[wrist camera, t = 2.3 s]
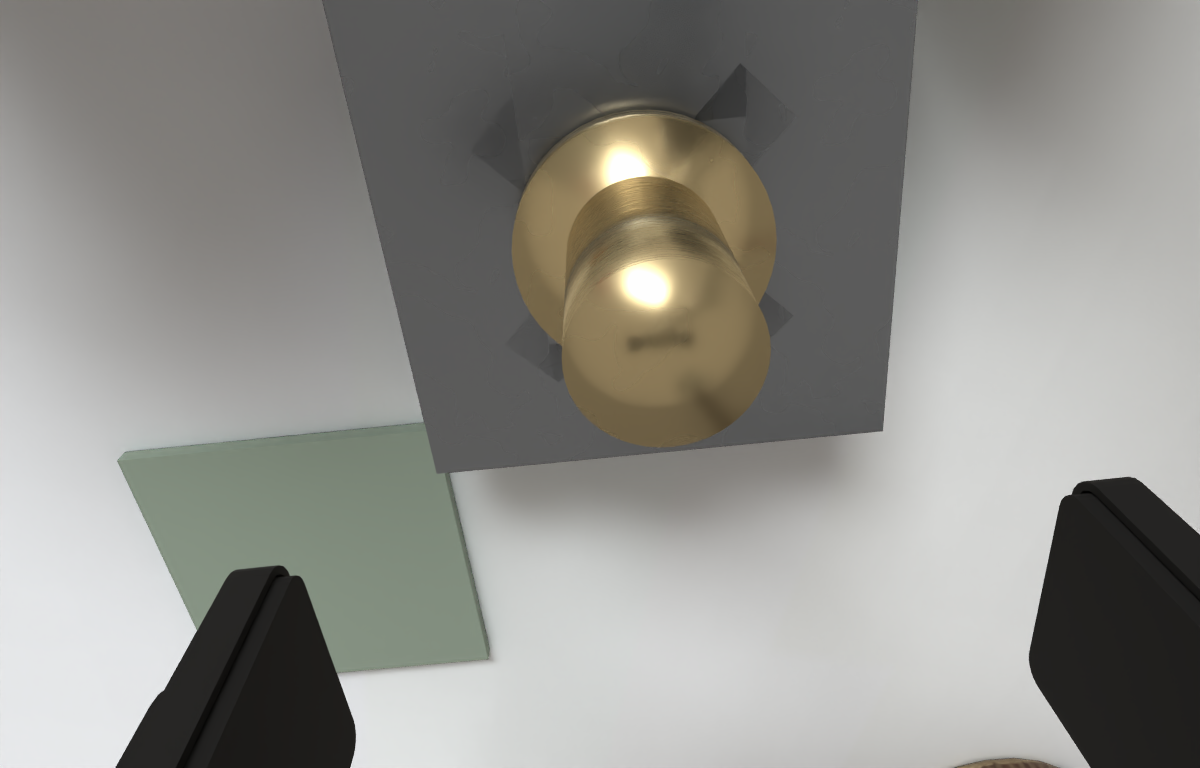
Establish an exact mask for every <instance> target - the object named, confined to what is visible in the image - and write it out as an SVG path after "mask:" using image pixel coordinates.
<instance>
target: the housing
mask: <svg viewBox="0 0 1200 768" xmlns="http://www.w3.org/2000/svg"><path fill="white" fill-rule="evenodd" d="M322 1H323V5H324V10H325V14H326V18H327V22H328V26H329V30H330V34H331V39H332V43H333V47H334V51H335V55H336V59H337V63H338V68H339V72H340V76H341V80H342V84H343V88H344V92H345V96H346V101H347V105H348V109H349V113H350V117H351V121H352V125H353V130H354V134H355V138H356V142H357V146H358V150H359V154H360V159H361V163H362V167H363V171H364V175H365V179H366V183H367V187H368V192H369V196H370V200H371V204H372V208H373V212H374V216H375V221H376V225H377V229H378V233H379V237H380V241H381V245H382V249H383V254H384V258H385V262H386V266H387V270H388V274H389V278H390V283H391V287H392V291H393V295H394V299H395V303H396V307H397V312H398V316H399V320H400V324H401V328H402V332H403V336H404V340H405V345H406V349H407V353H408V357H409V361H410V365H411V369H412V374H413V378H414V382H415V386H416V390H417V394H418V398H419V403H420V407H421V411H422V415H423V419H424V423H425V427H426V431H427V436H428V440H429V444H430V448H431V452H432V456H433V460H434V465H435V469H436V473H437V474H441V473H452V472H462V471H472V470H483V469H493V468H504V467H514V466H524V465H535V464H545V463H556V462H566V461H576V460H587V459H597V458H608V457H618V456H628V455H639V454H649V453H660V452H670V451H680V450H691V449H701V448H712V447H722V446H732V445H743V444H753V443H764V442H774V441H784V440H795V439H805V438H816V437H826V436H836V435H847V434H857V433H868V432H878V431H883V421H884V408H885V396H886V384H887V372H888V359H889V347H890V335H891V323H892V310H893V298H894V286H895V274H896V261H897V249H898V237H899V225H900V212H901V200H902V188H903V176H904V163H905V151H906V139H907V127H908V114H909V102H910V90H911V78H912V65H913V53H914V41H915V29H916V16H917V4H918V0H322ZM647 109H650V110H661V111H669V112H673V113H677V114H681V115H685V116H687V117H690V118H693V119H695V120H698V121H700V122H702V123H704V124H706V125H707V126H709V127H711V128H713V129H714V130H716V131H717V132H719V133H720V134H721V135H723V136H724V137H725V138H726V139H728V140H729V141H730V142H731V143H732V144H733V145H734V146H735V147H736V148H737V149H738V150H739V151H740V152H741V153H742V155H743V156H744V157H745V159H746V160H747V161H748V162H749V164H750V165H751V166H752V168H753V169H754V171H755V172H756V173H757V175H758V176H759V178H760V180H761V182H762V184H763V186H764V187H765V189H766V191H767V194H768V197H769V200H770V202H771V205H772V209H773V214H774V218H775V223H776V238H777V242H776V256H775V261H774V266H773V271H772V275H771V277H770V280H769V283H768V286H767V289H766V291H765V293H764V295H763V297H762V299H761V301H760V303H759V304H758V305H759V307H760V309H761V311H762V313H763V315H764V318H765V321H766V323H767V326H768V331H769V335H770V344H771V354H770V364H769V368H768V373H767V376H766V378H765V381H764V384H763V386H762V388H761V390H760V392H759V394H758V395H757V397H756V398H755V400H754V401H753V403H752V404H751V405H750V407H749V408H748V409H747V410H746V411H745V412H744V413H743V414H742V415H741V416H740V417H739V418H738V419H737V420H736V421H734V422H733V423H732V424H731V425H729V426H728V427H726V428H725V429H723V430H722V431H720V432H718V433H716V434H714V435H713V436H711V437H708V438H706V439H703V440H701V441H698V442H694V443H691V444H687V445H682V446H675V447H646V446H641V445H635V444H632V443H628V442H625V441H622V440H620V439H617V438H615V437H613V436H611V435H609V434H607V433H606V432H604V431H602V430H600V429H599V428H598V427H597V426H595V425H594V424H593V423H591V422H590V421H589V420H588V419H587V418H586V417H585V416H584V415H583V414H582V412H581V411H580V410H579V408H578V407H577V406H576V404H575V403H574V401H573V399H572V397H571V395H570V394H569V391H568V388H567V386H566V383H565V379H564V375H563V370H562V346H561V345H560V344H559V343H557V342H556V341H555V340H554V339H552V338H551V337H550V336H549V335H548V334H547V333H546V332H545V331H544V330H543V329H542V327H541V326H540V325H539V324H538V323H537V321H536V320H535V318H534V317H533V316H532V314H531V313H530V311H529V309H528V308H527V306H526V304H525V302H524V300H523V298H522V296H521V293H520V290H519V288H518V285H517V282H516V278H515V273H514V269H513V260H512V234H513V229H514V223H515V218H516V214H517V209H518V205H519V202H520V199H521V196H522V193H523V190H524V188H525V186H526V184H527V182H528V180H529V178H530V176H531V174H532V173H533V171H534V170H535V168H536V167H537V165H538V164H539V162H540V161H541V160H542V159H543V157H544V156H545V155H546V154H547V153H548V152H549V151H550V150H551V148H552V147H554V146H555V145H556V144H557V143H558V142H559V141H560V140H562V139H563V138H564V137H565V136H567V135H568V134H570V133H571V132H573V131H574V130H576V129H577V128H579V127H580V126H582V125H584V124H587V123H589V122H591V121H593V120H595V119H597V118H600V117H604V116H607V115H610V114H613V113H618V112H624V111H629V110H647Z"/></svg>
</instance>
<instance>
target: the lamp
mask: <svg viewBox="0 0 1200 768" xmlns="http://www.w3.org/2000/svg"><path fill="white" fill-rule="evenodd" d="M956 768H1059V767H1056V766H1053V765H1050V764H1047V763H1044V762H1041V761H1036V760H1027V759H1018V758H1008V759H994V760H984V761H980V762H976V763H971V764H967V765H963V766H958V767H956Z"/></svg>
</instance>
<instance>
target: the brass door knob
mask: <svg viewBox="0 0 1200 768" xmlns="http://www.w3.org/2000/svg"><path fill="white" fill-rule="evenodd" d="M776 242H777V238H776V223H775V218H774V214H773V209H772V205H771V202H770V200H769V197H768V194H767V191H766V189H765V187H764V186H763V184H762V182H761V180H760V178H759V176H758V175H757V173H756V172H755V171H754V169H753V168H752V166H751V165H750V164H749V162H748V161H747V160H746V159H745V157H744V156H743V155H742V153H741V152H740V151H739V150H738V149H737V148H736V147H735V146H734V145H733V144H732V143H731V142H730V141H729V140H728V139H726V138H725V137H724V136H723V135H721V134H720V133H719V132H717V131H716V130H714V129H713V128H711V127H709V126H707V125H706V124H704V123H702V122H700V121H698V120H695V119H693V118H690V117H687V116H685V115H681V114H677V113H673V112H669V111H661V110H650V109H647V110H629V111H624V112H618V113H613V114H610V115H607V116H604V117H600V118H597V119H595V120H593V121H591V122H589V123H587V124H584V125H582V126H580V127H579V128H577V129H576V130H574V131H573V132H571V133H570V134H568V135H567V136H565V137H564V138H563V139H562V140H560V141H559V142H558V143H557V144H556V145H555V146H554V147H552V148H551V150H550V151H549V152H548V153H547V154H546V155H545V156H544V157H543V159H542V160H541V161H540V162H539V164H538V165H537V167H536V168H535V170H534V171H533V173H532V174H531V176H530V178H529V180H528V182H527V184H526V186H525V188H524V190H523V193H522V196H521V199H520V202H519V205H518V209H517V214H516V218H515V223H514V229H513V234H512V260H513V269H514V273H515V278H516V282H517V285H518V288H519V290H520V293H521V296H522V298H523V300H524V302H525V304H526V306H527V308H528V309H529V311H530V313H531V314H532V316H533V317H534V318H535V320H536V321H537V323H538V324H539V325H540V326H541V327H542V329H543V330H544V331H545V332H546V333H547V334H548V335H549V336H550V337H551V338H552V339H554V340H555V341H556V342H557V343H559V344H560V345H561V346H562V370H563V375H564V379H565V383H566V386H567V388H568V391H569V394H570V395H571V397H572V399H573V401H574V403H575V404H576V406H577V407H578V408H579V410H580V411H581V412H582V414H583V415H584V416H585V417H586V418H587V419H588V420H589V421H590V422H591V423H593V424H594V425H595V426H597V427H598V428H599V429H600V430H602V431H604V432H606V433H607V434H609V435H611V436H613V437H615V438H617V439H620V440H622V441H625V442H628V443H632V444H635V445H641V446H646V447H675V446H682V445H687V444H691V443H694V442H698V441H701V440H703V439H706V438H708V437H711V436H713V435H714V434H716V433H718V432H720V431H722V430H723V429H725V428H726V427H728V426H729V425H731V424H732V423H733V422H734V421H736V420H737V419H738V418H739V417H740V416H741V415H742V414H743V413H744V412H745V411H746V410H747V409H748V408H749V407H750V405H751V404H752V403H753V401H754V400H755V398H756V397H757V395H758V394H759V392H760V390H761V388H762V386H763V384H764V381H765V378H766V376H767V373H768V368H769V364H770V354H771V344H770V335H769V331H768V326H767V323H766V321H765V318H764V315H763V313H762V311H761V309H760V307H759V305H758V304H759V303H760V301H761V299H762V297H763V295H764V293H765V291H766V289H767V286H768V283H769V280H770V277H771V275H772V271H773V266H774V261H775V256H776Z"/></svg>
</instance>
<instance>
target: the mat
mask: <svg viewBox="0 0 1200 768" xmlns="http://www.w3.org/2000/svg"><path fill="white" fill-rule="evenodd" d="M118 464H119V466H120V468H121V470H122V472H123V474H124V476H125V478H126V481H127V483H128V485H129V487H130V489H131V491H132V493H133V495H134V498H135V500H136V502H137V504H138V506H139V508H140V510H141V512H142V515H143V517H144V519H145V521H146V523H147V525H148V527H149V529H150V532H151V534H152V536H153V538H154V540H155V542H156V544H157V546H158V549H159V551H160V553H161V555H162V557H163V559H164V561H165V563H166V565H167V568H168V570H169V572H170V574H171V576H172V578H173V580H174V582H175V585H176V587H177V589H178V591H179V593H180V595H181V597H182V599H183V602H184V604H185V606H186V608H187V610H188V612H189V614H190V616H191V619H192V621H193V623H194V625H195V627H196V629H197V630H198V628H199V627H200V625H201V623H202V621H203V619H204V617H205V616H206V614H207V612H208V610H209V608H210V607H211V605H212V603H213V601H214V599H215V598H216V596H217V594H218V592H219V590H220V589H221V587H222V585H223V583H224V581H225V580H226V578H227V577H228V575H229V574H230V573H231V572H232V571H234V570H237V569H247V568H256V567H266V566H276V565H280V566H284V567H285V568H286V569H287V570H288V572H289V574H290V576H295V575H297V576H300V577H301V578H302V579H303V581H304V583H305V586H306V589H307V591H308V594H309V597H310V600H311V603H312V605H313V608H314V611H315V614H316V617H317V619H318V622H319V625H320V628H321V631H322V633H323V636H324V639H325V642H326V645H327V647H328V650H329V653H330V656H331V659H332V661H333V664H334V667H335V670H336V673H340V672H351V671H362V670H373V669H385V668H396V667H407V666H418V665H429V664H441V663H452V662H463V661H474V660H485V659H488V657H489V649H490V648H489V644H488V640H487V636H486V631H485V627H484V623H483V618H482V614H481V610H480V606H479V601H478V597H477V593H476V588H475V584H474V580H473V575H472V571H471V567H470V563H469V558H468V554H467V550H466V545H465V541H464V537H463V533H462V528H461V524H460V520H459V515H458V511H457V507H456V503H455V498H454V494H453V490H452V485H451V481H450V477H449V473H441V474H437V473H436V469H435V465H434V460H433V456H432V452H431V448H430V444H429V440H428V436H427V431H426V427H425V423H416V424H406V425H395V426H385V427H375V428H365V429H355V430H344V431H334V432H324V433H314V434H304V435H293V436H283V437H273V438H263V439H253V440H242V441H232V442H222V443H212V444H202V445H191V446H181V447H171V448H161V449H151V450H140V451H130V452H125V453H124V454H123V455H122V456H121V457H120V458H119V459H118Z"/></svg>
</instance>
